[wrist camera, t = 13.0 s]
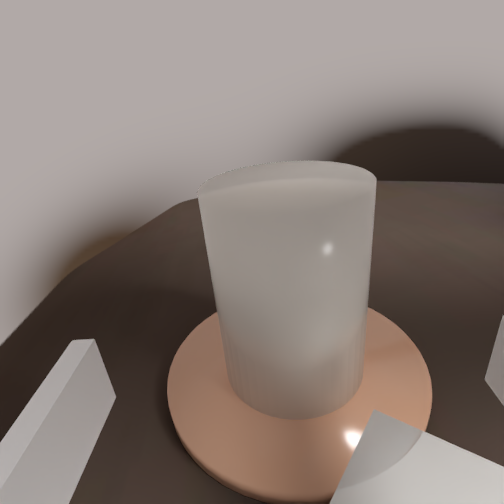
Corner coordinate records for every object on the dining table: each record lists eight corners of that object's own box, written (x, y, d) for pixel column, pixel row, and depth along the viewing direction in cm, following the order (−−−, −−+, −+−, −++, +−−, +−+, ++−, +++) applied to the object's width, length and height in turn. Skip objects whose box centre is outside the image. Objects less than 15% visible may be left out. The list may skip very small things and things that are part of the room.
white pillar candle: (389, 355, 21) (409, 170, 16) (304, 451, 16) (296, 230, 11) (286, 305, 26) (278, 155, 21) (200, 366, 21) (163, 191, 17)
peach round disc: (471, 362, 21) (475, 350, 21) (322, 605, 12) (321, 592, 12) (282, 281, 31) (282, 271, 31) (124, 382, 22) (120, 370, 22)
